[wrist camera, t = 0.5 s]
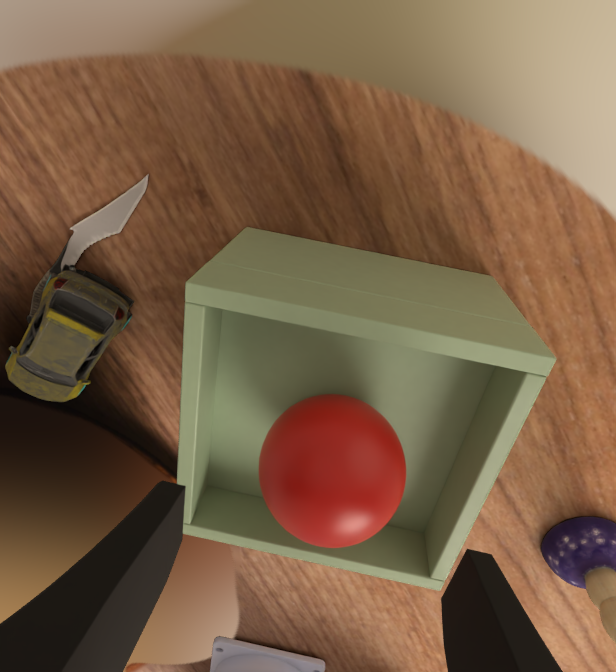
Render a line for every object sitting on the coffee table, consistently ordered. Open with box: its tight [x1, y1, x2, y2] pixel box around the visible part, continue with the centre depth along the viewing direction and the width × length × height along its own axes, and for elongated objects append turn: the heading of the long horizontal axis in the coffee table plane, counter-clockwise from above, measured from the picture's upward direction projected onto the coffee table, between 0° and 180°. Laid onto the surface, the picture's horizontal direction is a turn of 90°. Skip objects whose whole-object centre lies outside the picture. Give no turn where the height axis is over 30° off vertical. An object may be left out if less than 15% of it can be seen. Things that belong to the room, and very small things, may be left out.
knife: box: [26, 174, 148, 324], centre depth 19 cm, size 10×2×1 cm, turn 139°
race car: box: [5, 264, 134, 402], centre depth 20 cm, size 4×8×2 cm, turn 142°
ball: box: [258, 394, 406, 548], centre depth 14 cm, size 5×5×5 cm
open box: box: [177, 227, 556, 591], centre depth 17 cm, size 10×10×7 cm
